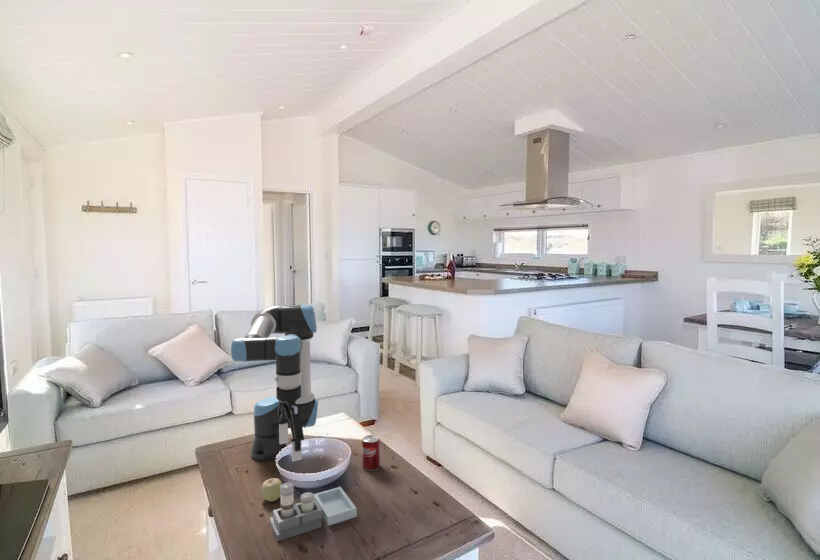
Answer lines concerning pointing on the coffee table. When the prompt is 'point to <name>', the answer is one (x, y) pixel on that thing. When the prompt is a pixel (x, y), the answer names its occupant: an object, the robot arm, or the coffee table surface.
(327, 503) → the tray
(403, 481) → the coffee table surface
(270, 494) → the fruit
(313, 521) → the block
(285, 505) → the cylinder
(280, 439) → the robot arm
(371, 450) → the soda can
